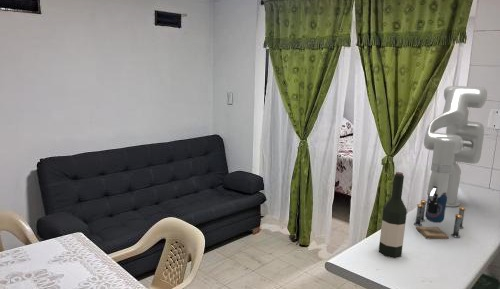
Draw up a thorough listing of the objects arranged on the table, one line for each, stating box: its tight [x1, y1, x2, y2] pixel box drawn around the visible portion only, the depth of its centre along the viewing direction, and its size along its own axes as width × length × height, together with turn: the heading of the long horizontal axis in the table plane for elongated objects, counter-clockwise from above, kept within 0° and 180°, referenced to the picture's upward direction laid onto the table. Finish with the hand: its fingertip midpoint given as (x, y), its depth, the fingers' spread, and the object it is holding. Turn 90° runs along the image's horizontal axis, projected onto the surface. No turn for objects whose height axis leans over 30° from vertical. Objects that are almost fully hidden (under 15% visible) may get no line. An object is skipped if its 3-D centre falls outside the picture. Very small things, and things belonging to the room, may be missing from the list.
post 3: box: [450, 213, 462, 239], centre depth 153 cm, size 3×3×9 cm
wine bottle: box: [378, 171, 408, 259], centre depth 135 cm, size 8×8×30 cm
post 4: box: [458, 206, 466, 230], centre depth 162 cm, size 3×3×9 cm
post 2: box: [420, 199, 427, 223], centre depth 168 cm, size 3×3×9 cm
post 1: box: [413, 203, 423, 227], centre depth 163 cm, size 3×3×9 cm
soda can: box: [424, 193, 447, 224], centre depth 153 cm, size 7×7×12 cm
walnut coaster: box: [415, 226, 450, 240], centre depth 155 cm, size 9×9×1 cm
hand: (435, 210), depth 154 cm, fingers closed on soda can, 6 cm apart
